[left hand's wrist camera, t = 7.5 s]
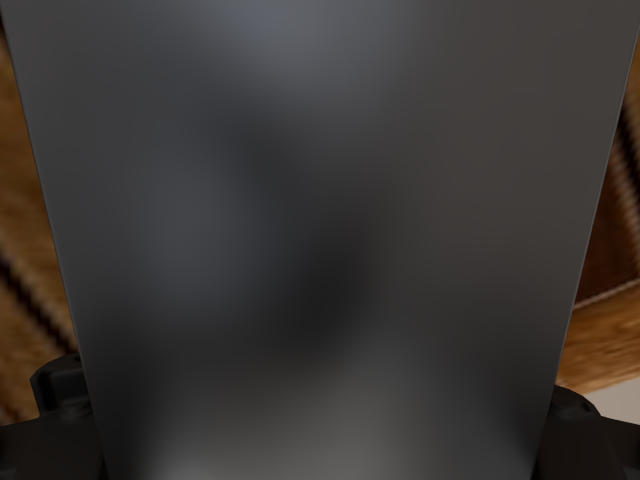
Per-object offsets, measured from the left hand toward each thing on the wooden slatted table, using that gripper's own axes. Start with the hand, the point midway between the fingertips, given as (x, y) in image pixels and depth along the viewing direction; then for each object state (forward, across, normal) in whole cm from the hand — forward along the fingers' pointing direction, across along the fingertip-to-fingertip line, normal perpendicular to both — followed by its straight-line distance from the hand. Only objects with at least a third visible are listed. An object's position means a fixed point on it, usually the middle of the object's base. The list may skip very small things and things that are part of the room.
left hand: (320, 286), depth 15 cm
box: (+1, 0, -9) cm, 9 cm away
